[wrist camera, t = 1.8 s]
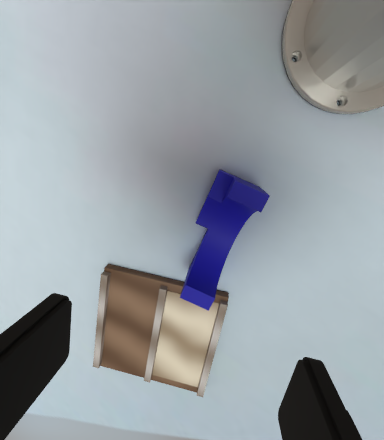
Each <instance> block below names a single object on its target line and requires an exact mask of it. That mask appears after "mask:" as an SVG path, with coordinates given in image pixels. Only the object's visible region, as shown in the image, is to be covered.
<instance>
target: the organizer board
mask: <svg viewBox="0 0 384 440" xmlns="http://www.w3.org/2000/svg"><path fill="white" fill-rule="evenodd" d="M183 286H184V282H182V281H177V280H173V279H169V278H165V277H161V276H157V275H153V274H148V273H144V272H140V271H136V270H132V269H128V268H124V267H119V266H115V265H111V264H108V265H107V266H106V267H105V270H104V272H103V273H102V274H101V280H100V292H99V303H98V315H97V327H96V338H95V350H94V361H93V367H97V368H99V367H100V366H104V367H107V368H111V369H115V370H118V371H122V372H125V373H129V374H133V375H136V376H140V377H143V378H144V381H147V382H150V380H154V381H158V382H161V383H165V384H169V385H172V386H176V387H179V388H183V389H187V390H190V391H194V392H197V396H201V397H203V395H204V391H205V387H206V384H207V380H208V376H209V373H210V369H211V365H212V361H213V358H214V354H215V350H216V347H217V343H218V339H219V336H220V332H221V328H222V324H223V321H224V317H225V313H226V310H227V306H228V293H227V292H223V291H219V290H216V295H215V300H214V302H213V303H212V305H211V307H210V309H209V311H208V310H206V309H204V308H201V307H199V306H197V305H195V304H193V303H190V302H188V301H186V300H184V299H182V298H180V295H181V292H182V289H183Z"/></svg>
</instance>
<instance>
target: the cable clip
mask: <svg viewBox="0 0 384 440" xmlns="http://www.w3.org/2000/svg"><path fill="white" fill-rule="evenodd" d="M268 198H269V195H268V194H267V193H266V192H265V191H264V190H262V189H261V188H260V187H259V186H256V185H254V184H252V183H249V182H247V181H245V180H243V179H240V178H238V177H236V176H234V175H231V174H229V173H227V172H225V171H222V170H219V172H218V174H217V176H216V178H215V181H214V183H213V185H212V187H211V190H210V192H209V194H208V196H207V199H206V201H205V203H204V205H203V207H202V210H201V212H200V214H199V216H198V219H197V221H196V224H199V225H201V226H203V227H205V228H208V229H207V231H206V233H205V236H204V238H203V240H202V242H201V244H200V246H199V248H198V251H197V253H196V255H195V257H194V259H193V261H192V263H191V265H190V268H189V270H188V273H187V276H186V279H185V282H184V286H183V289H182V292H181V295H180V298H182V299H184V300H186V301H188V302H190V303H193V304H195V305H197V306H199V307H201V308H204V309H206V310H208V311H209V309H210V307H211V305H212V303H213V302H214V300H215V295H216V289H217V285H218V281H219V277H220V274H221V271H222V268H223V266H224V263H225V260H226V258H227V255H228V253H229V251H230V249H231V247H232V245H233V242H234V241H235V239H236V237H237V235H238V233H239V231H240V230H241V228H242V227H243V225H244V224H245V222H246V221H247V220H248V218H249V217H250V216H251V215H252V214H253V213H255V212H256V211H259V212H261V211H262V210H263V208H264V206H265V204H266V202H267V200H268Z"/></svg>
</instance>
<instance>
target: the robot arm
mask: <svg viewBox="0 0 384 440" xmlns="http://www.w3.org/2000/svg"><path fill="white" fill-rule="evenodd" d="M282 50H283V61H284V64H285V68H286V71H287V75H288V77H289V79H290V81H291V82H292V84H293V86H294V88H295V89H296V90H297V91H298V93H299V94H300V95H301V96H302V97H303V98H304V99H305V100H307V101H308V102H309V103H311V104H312V105H314V106H316V107H318V108H320V109H322V110H324V111H328V112H333V113H337V114H354V113H360V112H366V111H369V110H372V109H376V108H379V107H382V106H384V0H293V1H292V3H291V6H290V8H289V11H288V13H287V17H286V21H285V25H284V29H283V41H282ZM291 58H296V62H293V61H292V60H291ZM337 101H340V105H339V106H338V105H337ZM71 307H72V303H71V301H69V298H68V297H67V296H64V295H60V294H56V293H53V294H51V295H50V296H49V297H47V298H46V299H45V300H44V301H42V302H41V303H40V304H38V305H37V306H36V307H35V308H33V309H32V310H31V311H30V312H28V313H27V314H26V315H25V316H23V317H22V318H21V319H19V320H18V321H17V322H16V323H14V324H13V325H12V326H10V327H9V328H8V329H7V330H5V331H4V332H3V333H1V334H0V440H4V439H5V438H6V437H7V435H8V434H9V433H10V432H11V430H12V429H13V428H14V427H15V425H16V424H17V423H18V421H19V420H20V419H21V418H22V416H23V415H24V414H25V412H26V411H27V410H28V409H29V407H30V406H31V405H32V403H33V402H34V401H35V400H36V398H37V397H38V396H39V395H40V393H41V392H42V391H43V389H44V388H45V387H46V386H47V384H48V383H49V382H50V380H51V379H52V378H53V377H54V375H55V374H56V373H57V371H58V370H59V369H60V368H61V366H62V365H63V364H64V362H65V361H66V359H67V357H68V354H69V345H70V326H71ZM278 420H279V425H280V430H281V435H282V439H283V440H362V438H361V436H360V434H359V432H358V430H357V428H356V426H355V424H354V422H353V420H352V418H351V416H350V414H349V413H348V411H347V410H346V409H345V407H344V405H343V403H342V401H341V399H340V397H339V395H338V393H337V390H336V388H335V386H334V384H333V382H332V380H331V378H330V376H329V374H328V372H327V370H326V368H325V366H324V364H323V362H322V361H320V360H316V359H312V358H308V357H304V358H303V360H299V361H298V362H297V365H296V367H295V370H294V373H293V375H292V378H291V380H290V383H289V385H288V388H287V390H286V393H285V395H284V398H283V400H282V403H281V406H280V408H279V412H278Z"/></svg>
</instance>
